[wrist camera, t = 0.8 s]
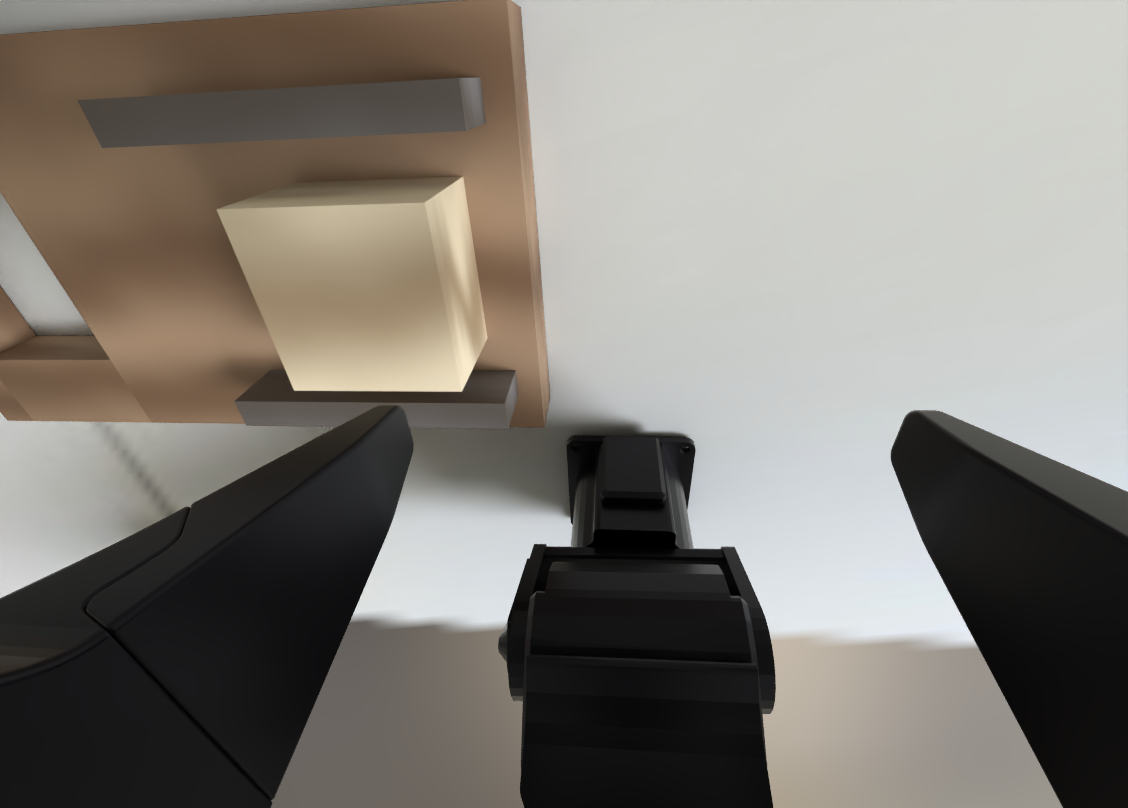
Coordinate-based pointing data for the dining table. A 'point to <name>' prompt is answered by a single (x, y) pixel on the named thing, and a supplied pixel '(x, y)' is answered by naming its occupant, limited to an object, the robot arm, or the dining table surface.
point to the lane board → (243, 170)
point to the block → (364, 281)
